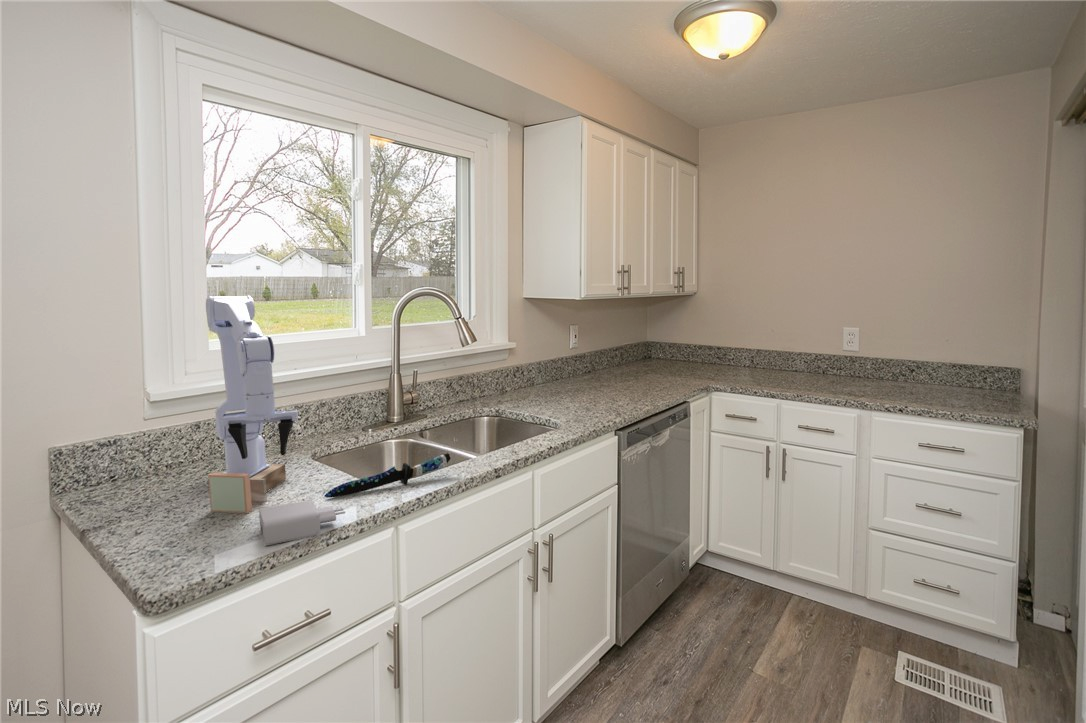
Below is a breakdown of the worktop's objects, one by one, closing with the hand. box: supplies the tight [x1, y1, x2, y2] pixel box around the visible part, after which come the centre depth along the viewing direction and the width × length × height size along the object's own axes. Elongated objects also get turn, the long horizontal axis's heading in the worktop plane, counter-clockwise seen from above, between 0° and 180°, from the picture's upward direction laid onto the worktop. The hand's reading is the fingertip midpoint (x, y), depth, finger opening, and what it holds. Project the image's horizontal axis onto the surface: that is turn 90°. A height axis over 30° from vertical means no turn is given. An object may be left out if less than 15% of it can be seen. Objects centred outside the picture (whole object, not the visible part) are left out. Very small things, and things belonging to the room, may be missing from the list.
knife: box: [324, 453, 451, 499], centre depth 137 cm, size 31×3×4 cm, turn 120°
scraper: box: [250, 463, 287, 502], centre depth 134 cm, size 14×8×5 cm, turn 175°
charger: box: [258, 499, 346, 547], centre depth 113 cm, size 5×9×15 cm
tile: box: [207, 471, 253, 514], centre depth 122 cm, size 2×8×8 cm, turn 85°
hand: (264, 456), depth 126 cm, fingers open, 7 cm apart
